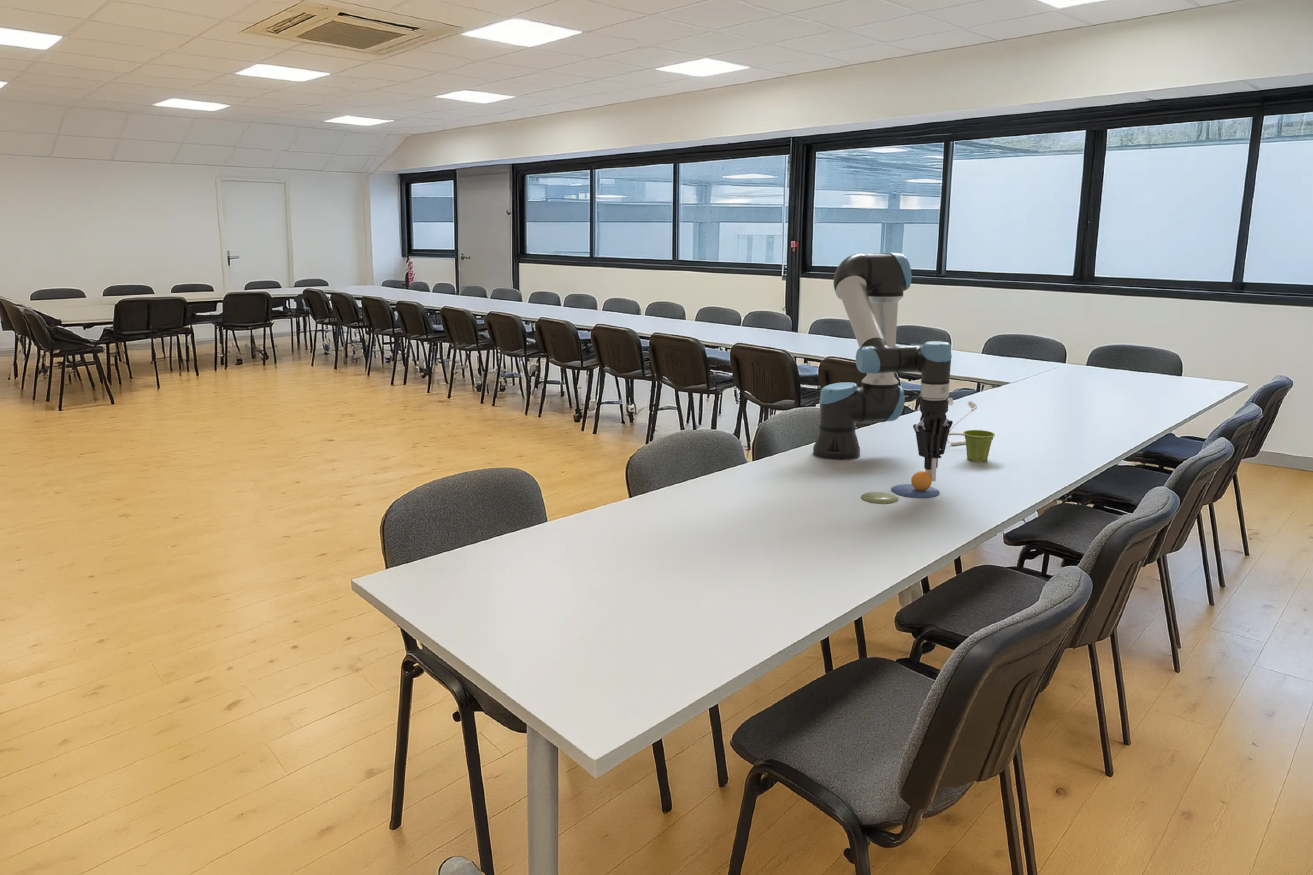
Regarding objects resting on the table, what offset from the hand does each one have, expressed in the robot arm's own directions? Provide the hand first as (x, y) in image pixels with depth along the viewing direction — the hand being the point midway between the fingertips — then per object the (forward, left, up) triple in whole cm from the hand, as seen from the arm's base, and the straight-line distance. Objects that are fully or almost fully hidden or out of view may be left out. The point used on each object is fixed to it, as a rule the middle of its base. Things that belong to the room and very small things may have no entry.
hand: (930, 479), depth 241 cm
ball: (0, -3, 0) cm, 3 cm away
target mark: (0, -5, -3) cm, 6 cm away
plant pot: (-16, +37, -3) cm, 40 cm away
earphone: (-39, +51, -3) cm, 64 cm away
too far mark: (0, -18, -3) cm, 18 cm away
